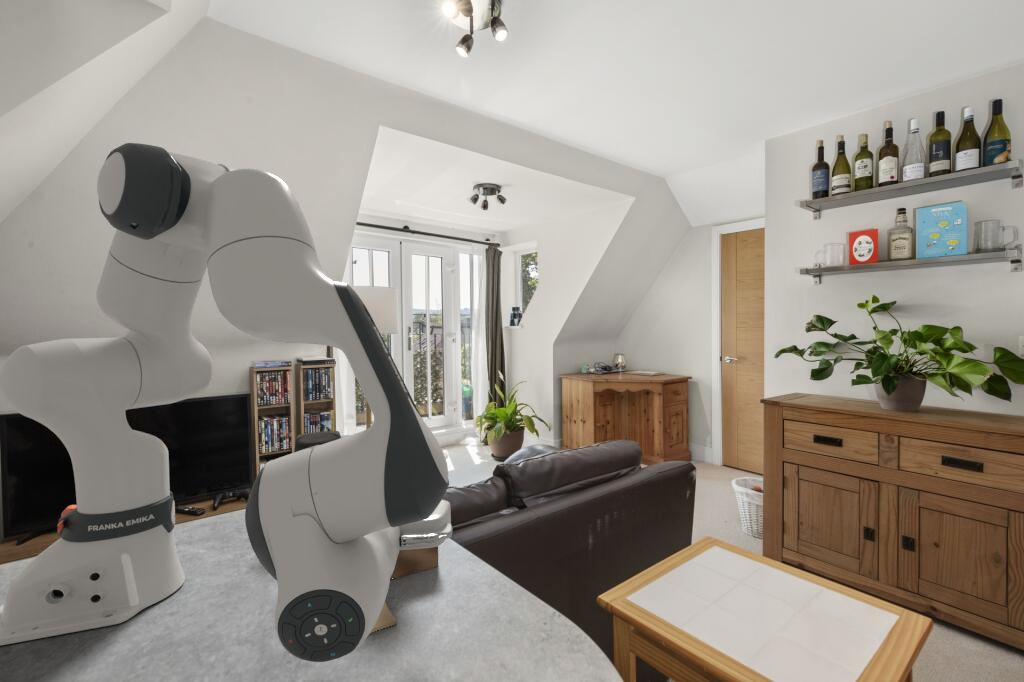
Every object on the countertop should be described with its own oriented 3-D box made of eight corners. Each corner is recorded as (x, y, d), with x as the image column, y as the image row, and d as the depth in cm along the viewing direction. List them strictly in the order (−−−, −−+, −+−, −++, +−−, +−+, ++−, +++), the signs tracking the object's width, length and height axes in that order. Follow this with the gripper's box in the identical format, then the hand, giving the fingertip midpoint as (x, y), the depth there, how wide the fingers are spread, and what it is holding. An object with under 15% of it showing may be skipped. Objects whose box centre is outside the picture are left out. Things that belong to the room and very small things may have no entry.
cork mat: (316, 651, 59) (315, 646, 59) (303, 611, 68) (303, 607, 68) (395, 624, 65) (395, 620, 65) (375, 591, 73) (375, 587, 73)
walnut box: (365, 587, 74) (363, 528, 74) (350, 561, 83) (348, 508, 83) (438, 566, 81) (437, 512, 80) (417, 544, 89) (416, 495, 89)
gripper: (451, 512, 57) (453, 477, 70) (267, 524, 54) (306, 486, 68) (452, 566, 57) (454, 520, 70) (269, 580, 55) (308, 530, 68)
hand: (380, 503), depth 69 cm, fingers open, 8 cm apart
